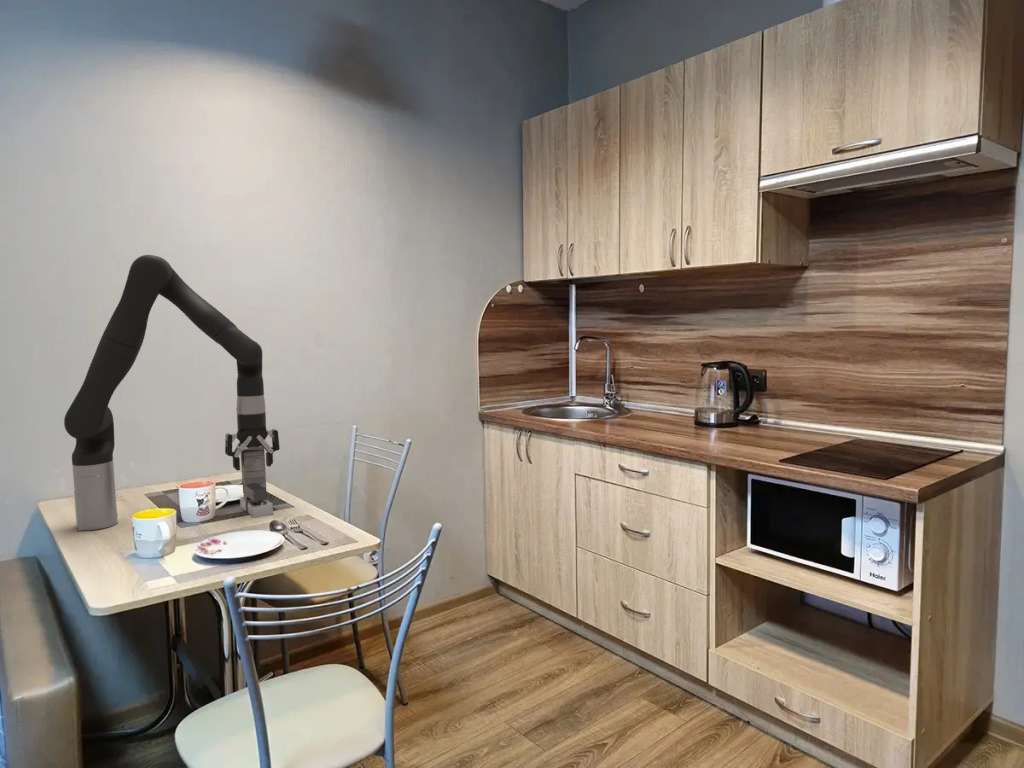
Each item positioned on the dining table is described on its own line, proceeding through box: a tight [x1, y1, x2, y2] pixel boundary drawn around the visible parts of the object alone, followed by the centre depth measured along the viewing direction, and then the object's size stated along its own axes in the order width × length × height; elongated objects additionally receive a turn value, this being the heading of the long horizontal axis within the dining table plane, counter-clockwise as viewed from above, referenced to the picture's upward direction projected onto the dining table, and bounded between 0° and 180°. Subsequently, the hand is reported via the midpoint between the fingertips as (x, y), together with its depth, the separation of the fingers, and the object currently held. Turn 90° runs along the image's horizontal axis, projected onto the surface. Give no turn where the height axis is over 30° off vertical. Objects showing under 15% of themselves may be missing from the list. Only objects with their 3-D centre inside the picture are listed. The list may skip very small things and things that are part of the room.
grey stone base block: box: [239, 496, 274, 518], centre depth 191 cm, size 5×13×4 cm, turn 37°
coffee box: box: [240, 446, 268, 500], centre depth 204 cm, size 9×6×16 cm
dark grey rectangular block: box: [244, 483, 268, 505], centre depth 191 cm, size 4×9×7 cm, turn 37°
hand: (253, 468), depth 190 cm, fingers open, 8 cm apart
